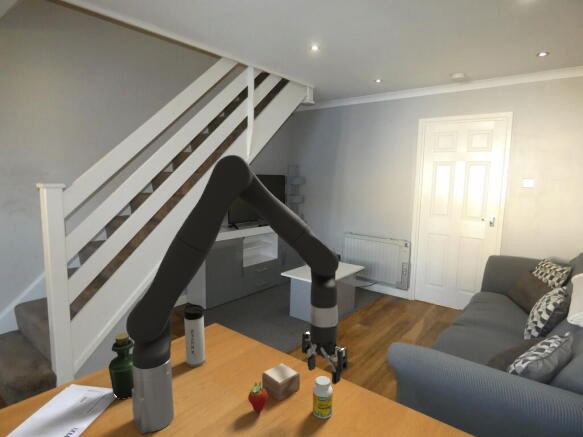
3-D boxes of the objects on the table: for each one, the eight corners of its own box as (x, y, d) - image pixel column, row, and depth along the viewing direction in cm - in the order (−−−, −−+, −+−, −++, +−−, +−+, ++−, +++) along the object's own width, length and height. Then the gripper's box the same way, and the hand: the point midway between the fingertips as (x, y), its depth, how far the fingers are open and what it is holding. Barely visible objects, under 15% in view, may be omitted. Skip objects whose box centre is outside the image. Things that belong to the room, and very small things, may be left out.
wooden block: (279, 401, 99) (279, 384, 98) (262, 388, 104) (262, 372, 104) (299, 389, 104) (299, 372, 103) (282, 377, 110) (282, 362, 109)
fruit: (255, 402, 98) (254, 376, 97) (271, 408, 96) (271, 381, 95) (245, 414, 93) (244, 387, 92) (262, 420, 91) (261, 392, 90)
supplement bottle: (328, 404, 97) (329, 373, 96) (335, 417, 92) (335, 384, 91) (310, 407, 96) (310, 375, 95) (315, 420, 91) (316, 387, 90)
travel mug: (196, 355, 123) (194, 301, 120) (208, 361, 119) (207, 306, 116) (181, 362, 118) (179, 307, 115) (194, 369, 114) (191, 312, 111)
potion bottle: (142, 396, 100) (138, 338, 98) (110, 405, 97) (106, 345, 94) (139, 381, 108) (136, 327, 105) (110, 389, 104) (106, 333, 101)
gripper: (294, 315, 94) (295, 370, 96) (335, 333, 83) (334, 394, 86) (313, 307, 99) (313, 360, 101) (354, 323, 88) (353, 381, 91)
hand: (323, 375), depth 93 cm, fingers open, 8 cm apart
